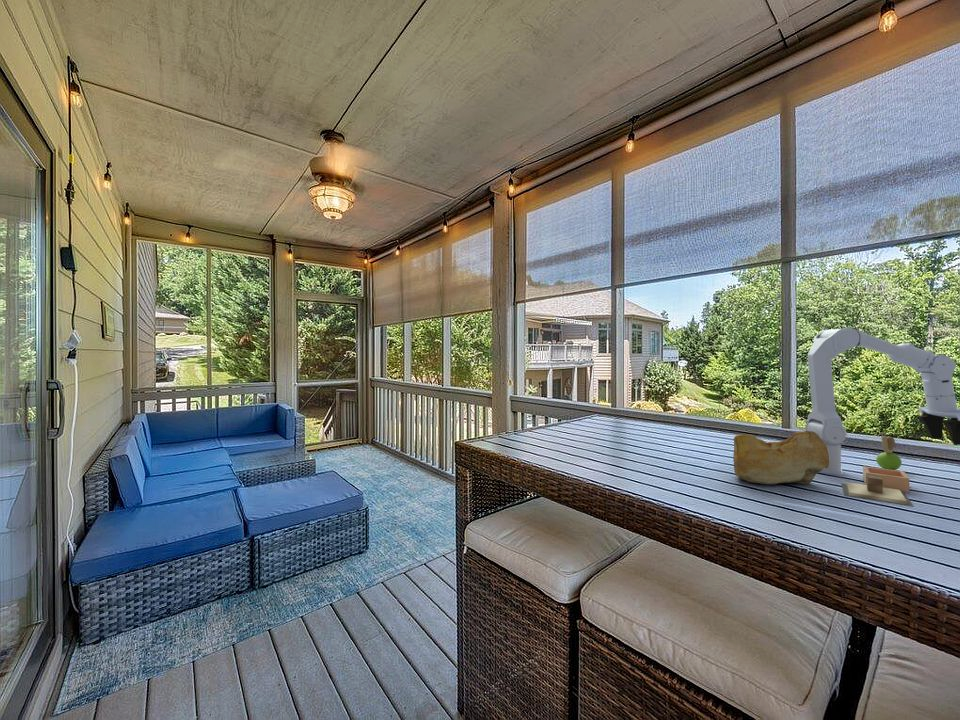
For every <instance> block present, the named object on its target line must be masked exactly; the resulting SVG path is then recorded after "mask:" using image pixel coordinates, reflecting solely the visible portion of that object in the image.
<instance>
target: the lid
mask: <svg viewBox="0 0 960 720" xmlns="http://www.w3.org/2000/svg"><path fill="white" fill-rule="evenodd" d="M845 484H846V485H847V489H848V492H849V495H851V496H857V497H863V498H869V499H876V500H882V501H888V502H894V503H901V504H907V500H906V499H905V497H904V496H903V494H902V493H901V492H902V491H900V490H897V489H891V488H884V487H883V479H882V478H881V477H877V476H869V475H867V485H865V484H862V483H854V482H850V481H849V482H848V481H847V482H845Z"/></svg>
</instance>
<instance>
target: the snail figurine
mask: <svg viewBox="0 0 960 720" xmlns="http://www.w3.org/2000/svg"><path fill="white" fill-rule="evenodd" d="M880 434H881V447H882V451H884V452H880V453H879V454H877V456H876V463H877V464H878V466H879V468H881V469H889V470H898V469H899V468H900V467H901V466H902V463H903V462H902V459H901V457H900V456H899V455H897V454H896V453H894V449H895V447H896V441H895V439H894V436H893V437H892V436H887V435H886V434H887V432H883V431H882V432H880ZM883 434H884V435H883Z"/></svg>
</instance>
